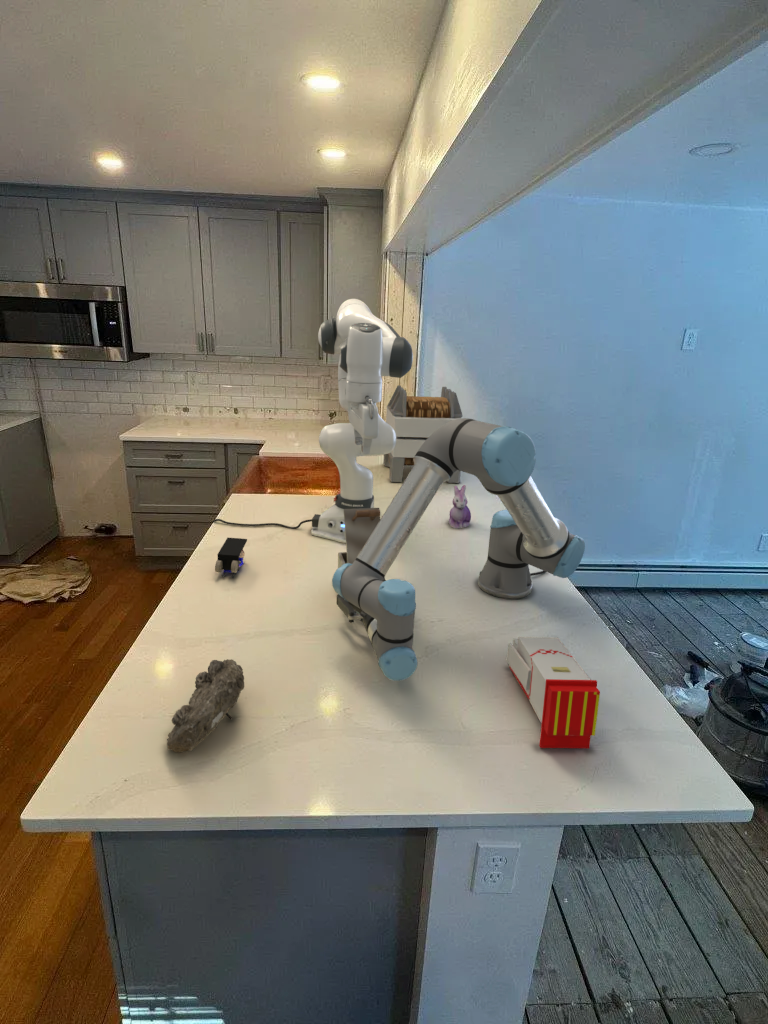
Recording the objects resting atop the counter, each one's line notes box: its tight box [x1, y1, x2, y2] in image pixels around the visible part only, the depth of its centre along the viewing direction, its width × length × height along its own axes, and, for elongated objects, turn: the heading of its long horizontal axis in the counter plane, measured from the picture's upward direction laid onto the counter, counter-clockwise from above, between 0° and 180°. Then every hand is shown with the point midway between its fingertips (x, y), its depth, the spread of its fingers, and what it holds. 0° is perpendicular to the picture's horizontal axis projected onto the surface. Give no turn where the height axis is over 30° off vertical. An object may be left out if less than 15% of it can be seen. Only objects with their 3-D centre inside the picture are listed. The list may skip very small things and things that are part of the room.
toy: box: [505, 636, 601, 749], centre depth 115 cm, size 12×13×30 cm
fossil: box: [166, 658, 245, 754], centre depth 106 cm, size 22×10×15 cm
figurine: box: [448, 484, 472, 529], centre depth 208 cm, size 9×10×15 cm
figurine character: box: [214, 537, 248, 578], centre depth 166 cm, size 7×8×15 cm
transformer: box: [383, 384, 463, 484], centre depth 268 cm, size 34×33×41 cm
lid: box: [344, 507, 381, 564], centre depth 141 cm, size 18×9×9 cm
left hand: (362, 448), depth 143 cm, fingers open, 8 cm apart
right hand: (363, 583), depth 148 cm, fingers closed on chest, 9 cm apart
